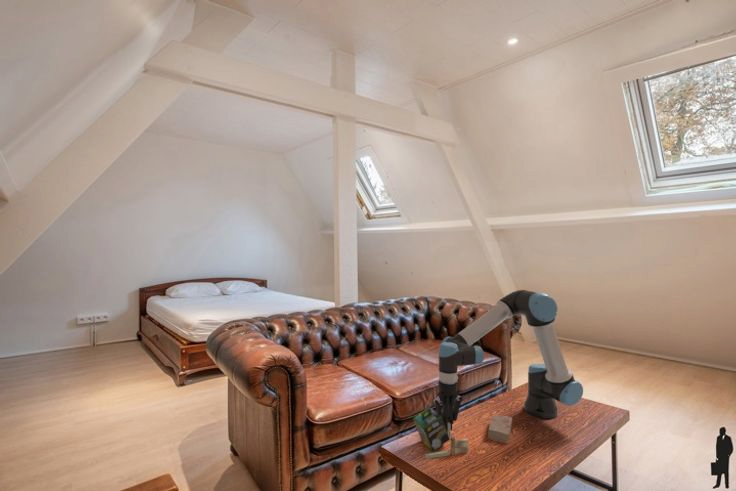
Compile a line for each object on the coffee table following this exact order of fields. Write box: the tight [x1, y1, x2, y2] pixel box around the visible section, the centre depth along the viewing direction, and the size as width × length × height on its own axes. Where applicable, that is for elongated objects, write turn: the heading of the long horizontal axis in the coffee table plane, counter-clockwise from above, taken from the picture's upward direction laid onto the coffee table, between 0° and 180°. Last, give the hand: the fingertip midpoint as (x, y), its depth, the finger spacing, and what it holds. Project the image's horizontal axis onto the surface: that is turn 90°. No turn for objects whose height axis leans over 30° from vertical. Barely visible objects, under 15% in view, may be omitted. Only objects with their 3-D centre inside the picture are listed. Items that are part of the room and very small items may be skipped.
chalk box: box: [412, 406, 451, 452], centre depth 151 cm, size 9×9×15 cm
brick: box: [487, 414, 513, 444], centre depth 163 cm, size 17×8×5 cm, turn 153°
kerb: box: [424, 450, 451, 459], centre depth 144 cm, size 10×1×1 cm, turn 105°
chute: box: [450, 436, 469, 456], centre depth 154 cm, size 7×17×6 cm, turn 15°
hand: (447, 438), depth 153 cm, fingers closed
